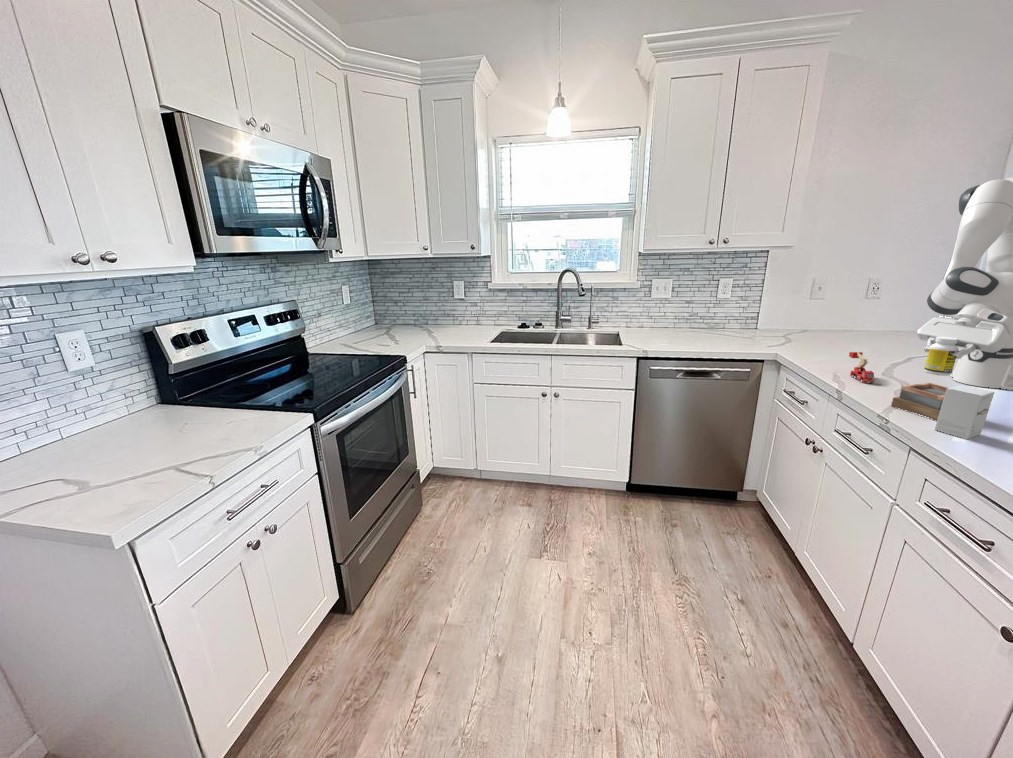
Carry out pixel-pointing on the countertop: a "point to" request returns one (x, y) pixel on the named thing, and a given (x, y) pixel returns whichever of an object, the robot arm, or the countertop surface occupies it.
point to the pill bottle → (941, 356)
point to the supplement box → (964, 411)
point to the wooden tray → (921, 399)
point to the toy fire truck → (861, 369)
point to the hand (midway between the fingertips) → (941, 354)
